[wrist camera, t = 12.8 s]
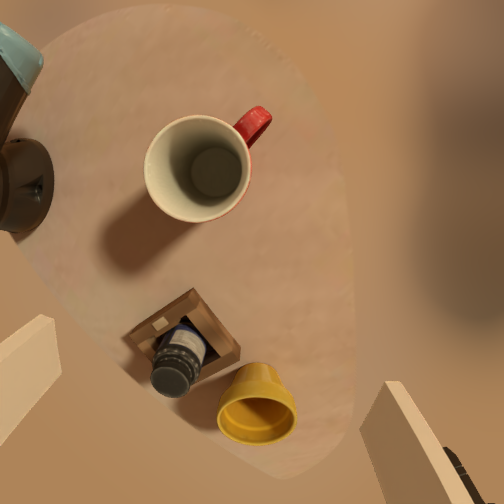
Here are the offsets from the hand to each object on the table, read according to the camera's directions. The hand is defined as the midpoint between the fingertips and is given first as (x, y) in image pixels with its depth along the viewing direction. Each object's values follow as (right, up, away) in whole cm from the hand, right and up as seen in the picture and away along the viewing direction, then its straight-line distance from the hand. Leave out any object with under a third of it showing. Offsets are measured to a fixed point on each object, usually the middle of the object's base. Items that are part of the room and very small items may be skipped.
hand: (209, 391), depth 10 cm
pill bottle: (-8, -7, +31) cm, 33 cm away
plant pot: (+2, -14, +33) cm, 36 cm away
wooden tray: (-8, -7, +31) cm, 33 cm away
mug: (-2, +16, +26) cm, 31 cm away
